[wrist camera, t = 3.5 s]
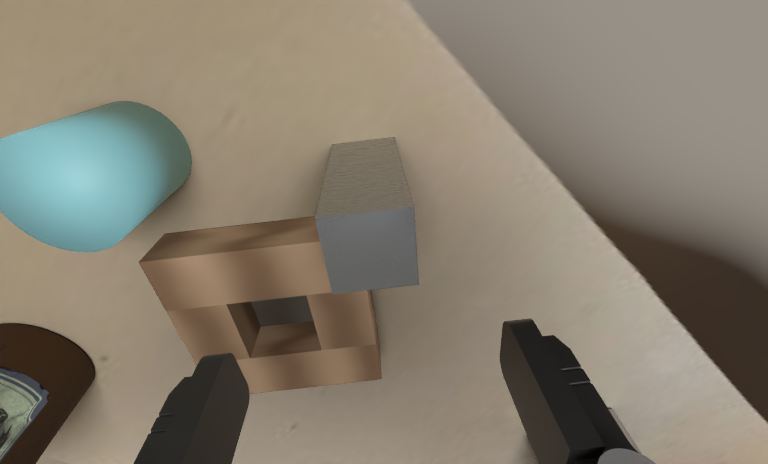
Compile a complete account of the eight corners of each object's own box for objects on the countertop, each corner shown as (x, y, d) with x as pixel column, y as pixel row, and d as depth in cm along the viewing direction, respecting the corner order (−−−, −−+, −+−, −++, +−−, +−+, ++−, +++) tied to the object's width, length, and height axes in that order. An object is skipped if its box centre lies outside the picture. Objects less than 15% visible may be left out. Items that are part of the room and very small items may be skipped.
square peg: (394, 137, 23) (413, 206, 14) (399, 193, 25) (418, 284, 16) (332, 144, 23) (314, 218, 14) (342, 200, 25) (332, 294, 16)
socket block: (358, 211, 25) (358, 236, 22) (379, 345, 32) (381, 379, 29) (165, 233, 25) (138, 262, 22) (228, 363, 33) (215, 397, 30)
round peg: (168, 95, 21) (89, 125, 15) (205, 188, 24) (152, 245, 18) (68, 107, 21) (-52, 141, 15) (117, 199, 24) (35, 258, 18)
